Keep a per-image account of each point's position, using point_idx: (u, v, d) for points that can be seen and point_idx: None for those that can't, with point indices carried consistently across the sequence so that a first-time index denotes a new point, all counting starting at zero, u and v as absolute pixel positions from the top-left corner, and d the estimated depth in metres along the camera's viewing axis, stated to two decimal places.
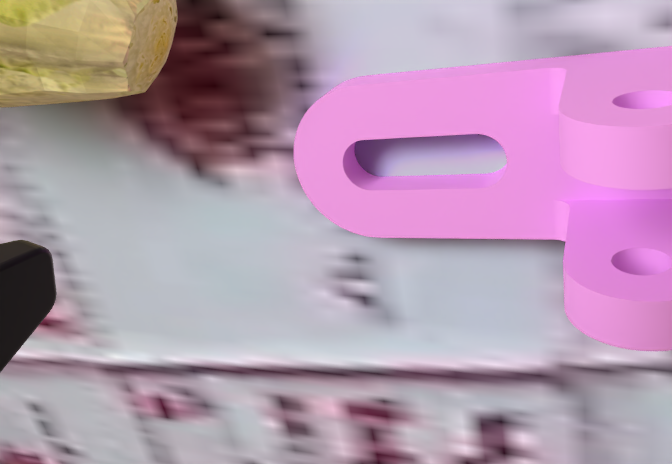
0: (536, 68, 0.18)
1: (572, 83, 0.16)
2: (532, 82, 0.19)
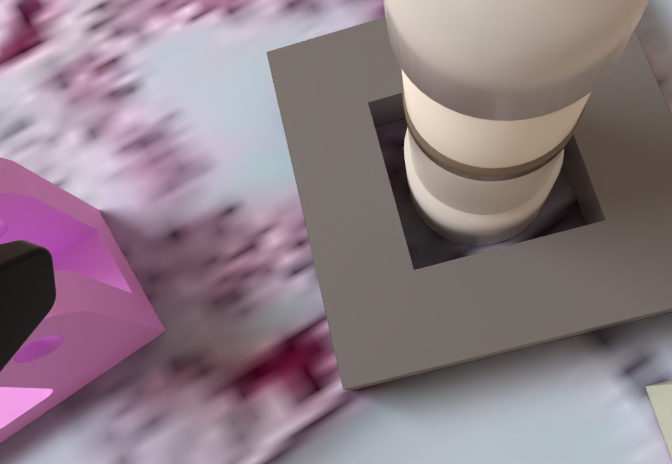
0: None
1: None
2: None
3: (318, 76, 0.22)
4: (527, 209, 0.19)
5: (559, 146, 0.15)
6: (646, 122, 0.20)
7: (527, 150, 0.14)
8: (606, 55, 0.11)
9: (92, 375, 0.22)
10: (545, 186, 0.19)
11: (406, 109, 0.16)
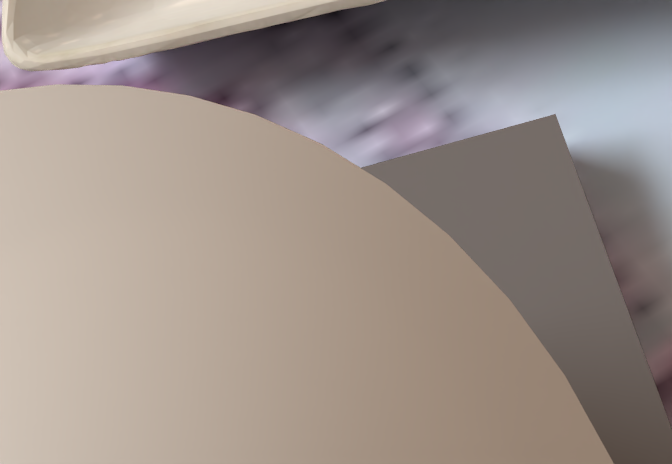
0: None
1: None
2: None
3: None
4: None
5: None
6: (622, 416, 0.12)
7: None
8: None
9: None
10: None
11: None
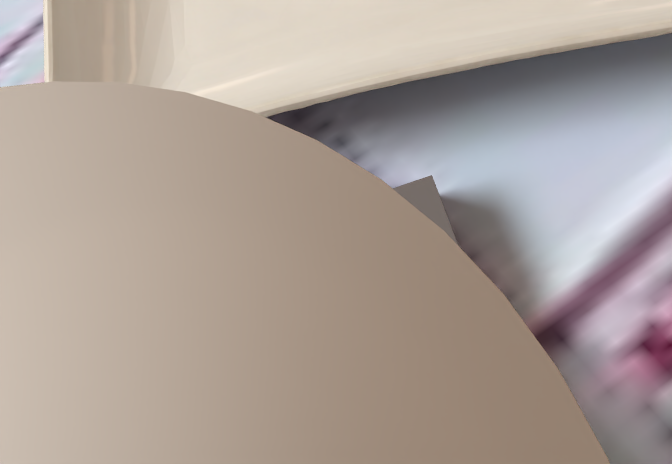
0: None
1: None
2: None
3: None
4: None
5: None
6: None
7: None
8: None
9: None
10: None
11: None
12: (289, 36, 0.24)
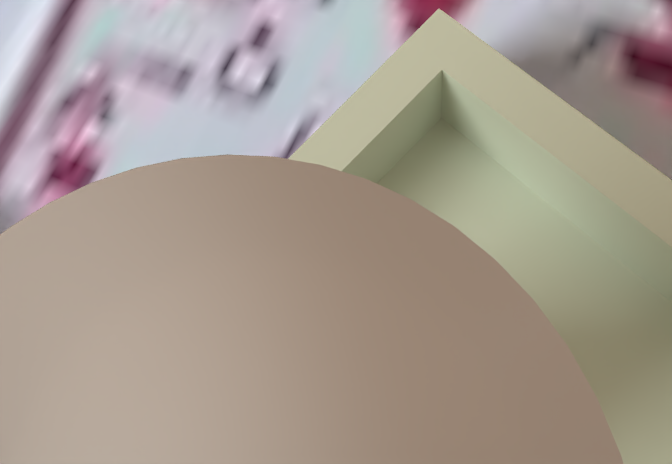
0: None
1: None
2: None
3: None
4: None
5: None
6: None
7: None
8: None
9: None
10: None
11: None
12: None
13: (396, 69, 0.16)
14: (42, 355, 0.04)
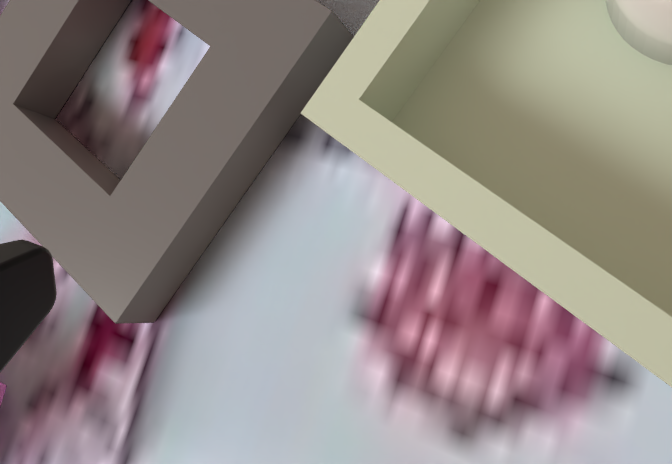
0: None
1: None
2: None
3: None
4: None
5: None
6: None
7: None
8: None
9: None
10: None
11: None
12: None
13: None
14: None
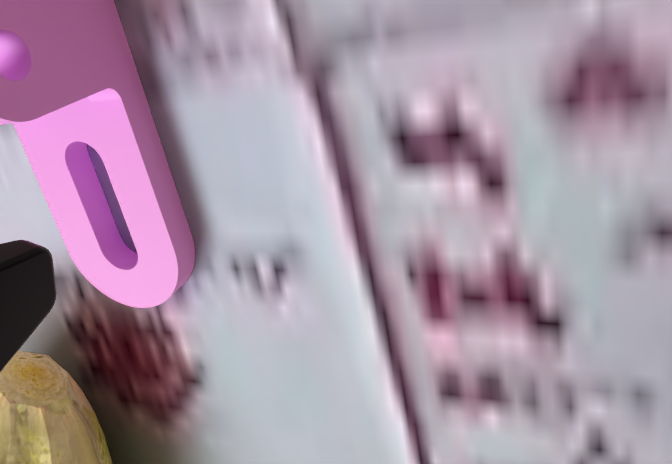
0: None
1: None
2: (21, 124, 0.24)
3: None
4: None
5: None
6: None
7: None
8: None
9: (121, 54, 0.22)
10: None
11: None
12: None
13: None
14: None
